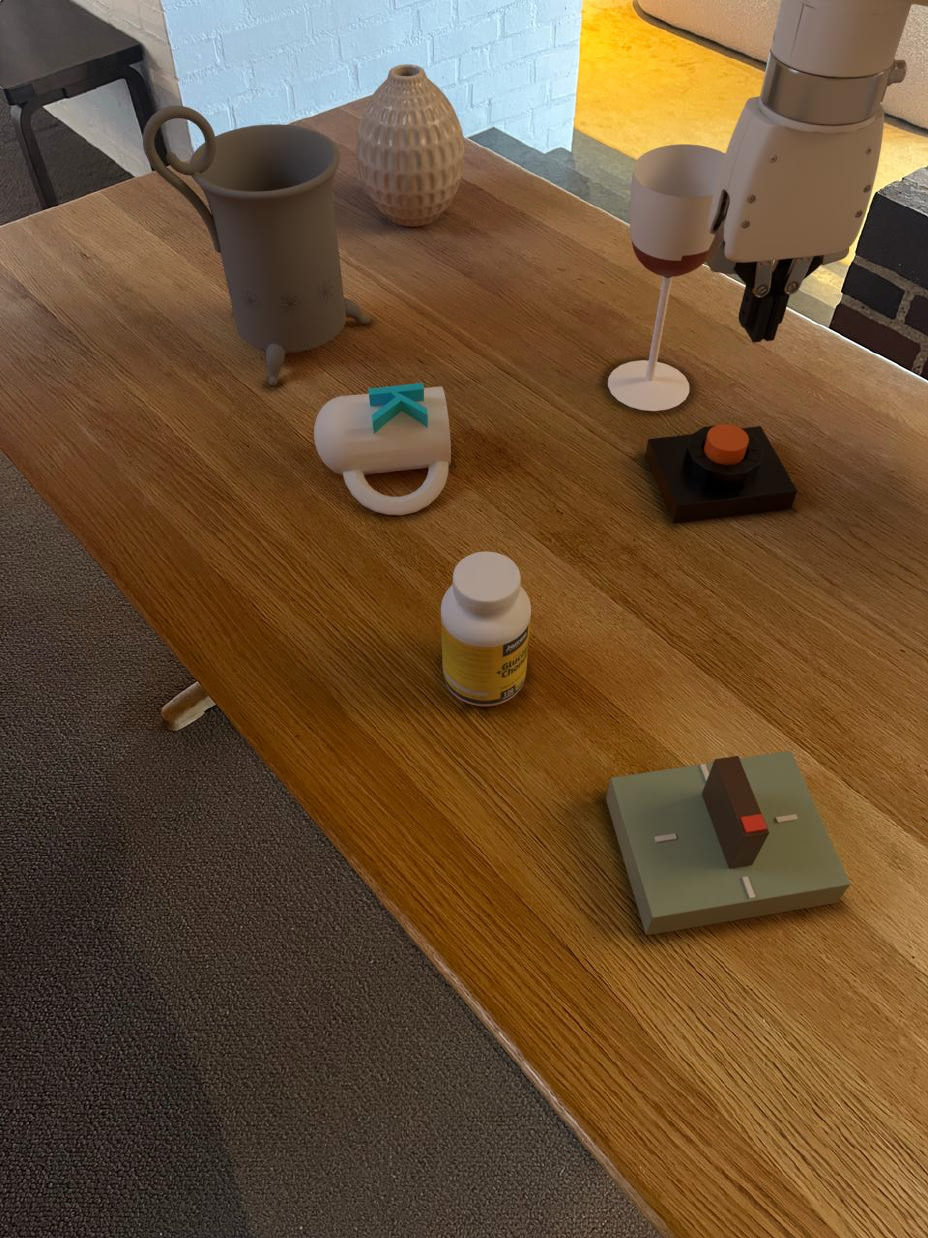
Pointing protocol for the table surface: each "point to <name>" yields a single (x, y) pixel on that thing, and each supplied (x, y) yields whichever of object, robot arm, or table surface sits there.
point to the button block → (718, 478)
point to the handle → (734, 812)
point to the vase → (410, 148)
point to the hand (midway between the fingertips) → (756, 331)
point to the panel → (693, 858)
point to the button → (726, 444)
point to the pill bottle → (485, 630)
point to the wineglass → (667, 254)
